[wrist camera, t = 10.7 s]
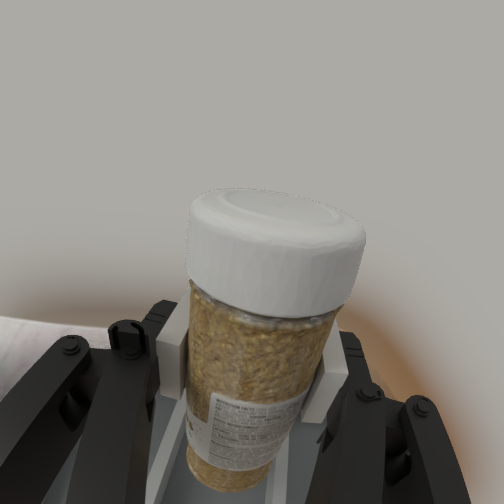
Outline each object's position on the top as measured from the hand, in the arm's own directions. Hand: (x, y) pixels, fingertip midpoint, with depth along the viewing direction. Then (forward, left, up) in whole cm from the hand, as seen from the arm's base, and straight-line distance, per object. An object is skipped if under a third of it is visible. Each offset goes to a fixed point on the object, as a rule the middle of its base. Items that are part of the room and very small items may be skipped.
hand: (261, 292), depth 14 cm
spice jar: (+1, -5, -8) cm, 10 cm away
